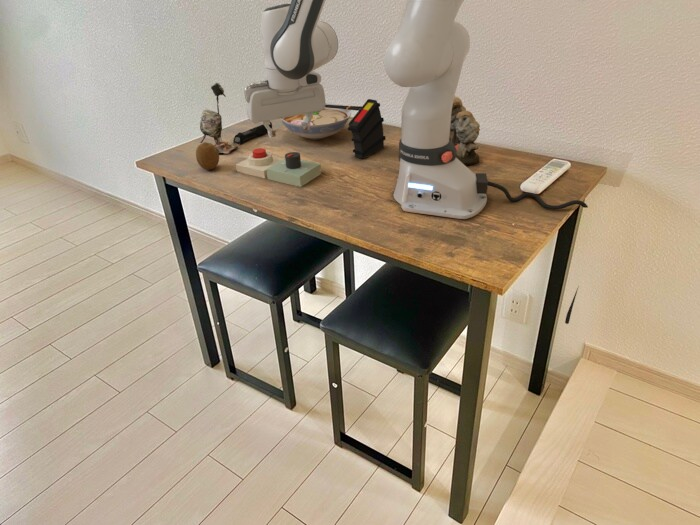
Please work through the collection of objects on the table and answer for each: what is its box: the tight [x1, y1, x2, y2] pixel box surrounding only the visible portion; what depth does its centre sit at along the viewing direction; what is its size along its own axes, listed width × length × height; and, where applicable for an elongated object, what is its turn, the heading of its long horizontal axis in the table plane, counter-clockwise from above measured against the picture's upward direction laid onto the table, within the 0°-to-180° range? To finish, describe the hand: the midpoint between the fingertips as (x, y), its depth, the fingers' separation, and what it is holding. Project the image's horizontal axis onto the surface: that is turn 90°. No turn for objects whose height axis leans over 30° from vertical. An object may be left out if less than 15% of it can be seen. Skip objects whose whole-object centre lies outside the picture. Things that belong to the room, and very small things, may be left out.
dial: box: [284, 151, 302, 169], centre depth 138 cm, size 4×4×4 cm
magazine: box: [347, 98, 386, 160], centre depth 150 cm, size 4×13×15 cm, turn 142°
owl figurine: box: [449, 95, 481, 167], centre depth 144 cm, size 18×12×17 cm, turn 58°
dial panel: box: [266, 158, 322, 188], centre depth 140 cm, size 11×10×3 cm
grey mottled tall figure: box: [199, 82, 238, 154], centre depth 154 cm, size 8×11×20 cm
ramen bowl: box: [279, 102, 363, 141], centre depth 165 cm, size 25×23×8 cm
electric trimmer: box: [233, 121, 273, 145], centre depth 167 cm, size 4×16×3 cm, turn 142°
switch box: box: [235, 150, 284, 179], centre depth 145 cm, size 10×10×4 cm
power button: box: [252, 147, 267, 158], centre depth 144 cm, size 4×4×2 cm
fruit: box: [195, 141, 220, 171], centre depth 145 cm, size 6×6×8 cm
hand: (289, 132), depth 134 cm, fingers open, 8 cm apart
